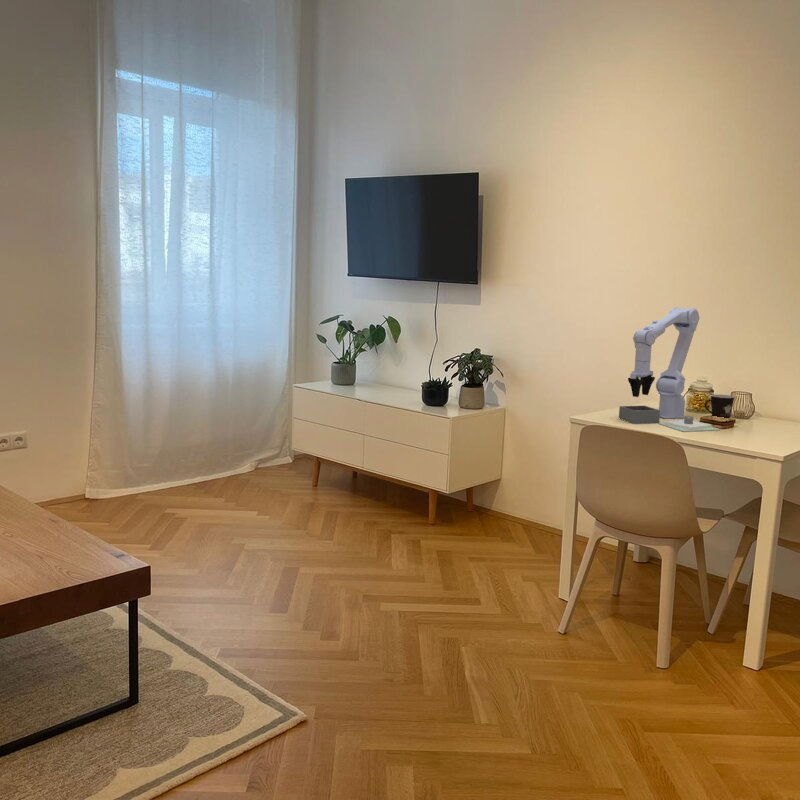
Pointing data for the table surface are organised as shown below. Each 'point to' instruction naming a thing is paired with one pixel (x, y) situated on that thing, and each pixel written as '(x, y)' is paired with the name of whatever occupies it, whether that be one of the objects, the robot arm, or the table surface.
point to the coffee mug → (721, 405)
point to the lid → (688, 424)
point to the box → (639, 414)
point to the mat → (690, 430)
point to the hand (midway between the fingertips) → (640, 395)
